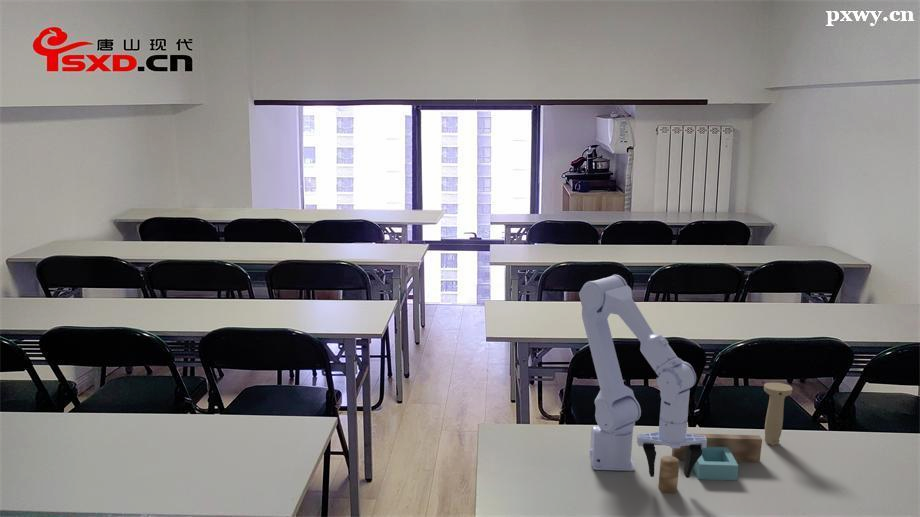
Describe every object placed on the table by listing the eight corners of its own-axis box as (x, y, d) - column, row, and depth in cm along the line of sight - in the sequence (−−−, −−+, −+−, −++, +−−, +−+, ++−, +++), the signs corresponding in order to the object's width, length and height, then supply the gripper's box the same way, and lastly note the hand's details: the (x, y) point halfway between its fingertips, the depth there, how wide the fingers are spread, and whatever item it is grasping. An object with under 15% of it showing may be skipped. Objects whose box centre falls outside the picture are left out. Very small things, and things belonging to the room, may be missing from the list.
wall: (673, 460, 191) (675, 436, 190) (671, 455, 193) (673, 432, 191) (759, 462, 190) (762, 439, 189) (756, 458, 192) (759, 435, 191)
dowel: (660, 493, 177) (662, 464, 175) (656, 483, 181) (658, 455, 179) (678, 494, 177) (681, 465, 175) (674, 484, 181) (677, 456, 179)
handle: (787, 448, 197) (794, 391, 193) (760, 446, 198) (766, 390, 194) (782, 439, 202) (789, 383, 198) (755, 437, 202) (762, 381, 198)
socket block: (698, 479, 183) (699, 464, 182) (689, 460, 191) (690, 445, 190) (736, 480, 182) (738, 465, 181) (726, 461, 191) (727, 447, 190)
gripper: (642, 425, 171) (638, 483, 174) (712, 427, 170) (707, 485, 174) (637, 411, 178) (633, 467, 181) (704, 412, 177) (699, 468, 180)
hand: (669, 475), depth 178 cm, fingers open, 7 cm apart
